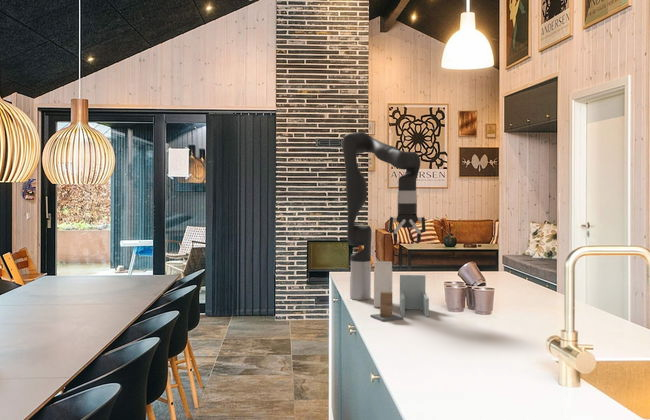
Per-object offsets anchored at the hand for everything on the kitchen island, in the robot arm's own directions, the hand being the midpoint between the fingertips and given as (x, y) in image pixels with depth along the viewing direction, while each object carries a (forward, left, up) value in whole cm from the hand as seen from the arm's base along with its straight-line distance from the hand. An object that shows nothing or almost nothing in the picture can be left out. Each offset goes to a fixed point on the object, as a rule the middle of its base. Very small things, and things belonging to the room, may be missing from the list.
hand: (407, 243), depth 225 cm
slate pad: (+5, -12, -28) cm, 31 cm away
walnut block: (+4, -12, -27) cm, 30 cm away
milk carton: (-16, -1, -28) cm, 33 cm away
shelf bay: (+1, +3, -28) cm, 28 cm away
